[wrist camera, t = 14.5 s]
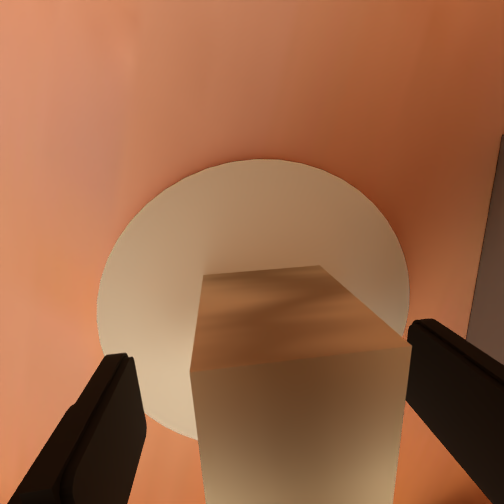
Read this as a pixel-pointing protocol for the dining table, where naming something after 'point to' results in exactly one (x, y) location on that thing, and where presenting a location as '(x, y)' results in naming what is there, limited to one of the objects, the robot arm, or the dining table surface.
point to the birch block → (295, 391)
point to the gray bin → (491, 277)
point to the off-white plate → (235, 263)
